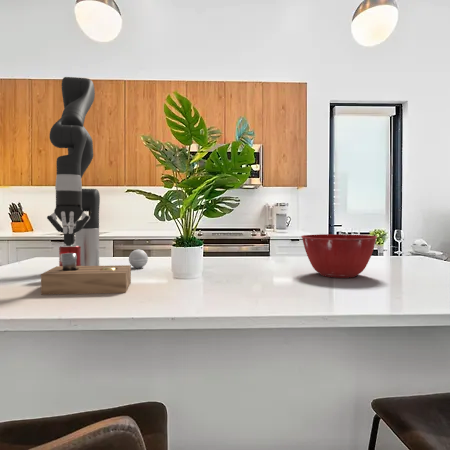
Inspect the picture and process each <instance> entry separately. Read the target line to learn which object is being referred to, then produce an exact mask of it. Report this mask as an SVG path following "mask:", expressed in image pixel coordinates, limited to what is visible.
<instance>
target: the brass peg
mask: <svg viewBox="0 0 450 450" xmlns="http://www.w3.org/2000/svg"><path fill="white" fill-rule="evenodd" d="M103 270H116V268H115V267H105V268H103Z"/></svg>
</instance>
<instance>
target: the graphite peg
mask: <svg viewBox="0 0 450 450" xmlns="http://www.w3.org/2000/svg"><path fill="white" fill-rule="evenodd" d="M62 260H63V271H76V253H64V254H62Z"/></svg>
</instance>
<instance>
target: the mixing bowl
mask: <svg viewBox="0 0 450 450" xmlns="http://www.w3.org/2000/svg"><path fill="white" fill-rule="evenodd" d="M300 237H301V239H302V243H303V246H304V250H305V253H306V256H307V258H308V260H309V261H308V262H310V265H311V266H312V268H313V269H314V270H315V271H316V273H319V274H320V276H322V277H327V278H335V279H337V278H338V279H339V278H340V279H345V278H346V279H348V278H349V277H350V278H356V277H357V275H360V274H361V273H362V272H363V271H365V270H366V267H367V265H368V264H369V262H370V259H371V257H372V255H373V252H374V249H375V245H376V241H377V238H378V236H376V235H371V234H370V235H368V234H342V233H340V234H339V233H338V234H336V233H335V234H334V233H332V234H328V233H327V234H323V233H322V234H321V233H319V234H304V235H301V236H300ZM350 278H349V279H350Z"/></svg>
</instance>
